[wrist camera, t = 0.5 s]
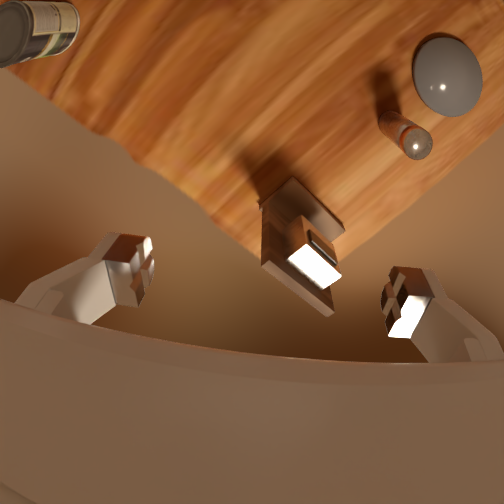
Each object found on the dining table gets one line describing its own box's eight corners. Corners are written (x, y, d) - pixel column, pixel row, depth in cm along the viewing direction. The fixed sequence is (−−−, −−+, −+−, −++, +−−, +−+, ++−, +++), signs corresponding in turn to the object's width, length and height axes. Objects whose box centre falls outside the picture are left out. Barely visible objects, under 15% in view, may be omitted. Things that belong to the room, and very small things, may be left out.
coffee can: (70, 59, 40) (19, 72, 29) (29, 51, 38) (-23, 64, 27) (88, 4, 34) (38, 1, 23) (44, -1, 32) (-9, 0, 21)
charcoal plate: (414, 28, 36) (417, 28, 35) (481, 49, 35) (485, 49, 34) (408, 108, 44) (411, 110, 43) (473, 121, 43) (477, 122, 42)
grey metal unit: (314, 258, 54) (320, 290, 48) (282, 229, 51) (284, 261, 45) (334, 243, 52) (343, 274, 46) (302, 212, 49) (308, 242, 43)
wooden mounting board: (311, 251, 62) (323, 319, 48) (259, 205, 56) (256, 269, 42) (343, 226, 58) (365, 291, 44) (292, 176, 53) (303, 233, 39)
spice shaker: (379, 108, 45) (405, 126, 36) (404, 112, 45) (434, 130, 36) (376, 135, 48) (401, 158, 39) (401, 137, 47) (429, 161, 38)
